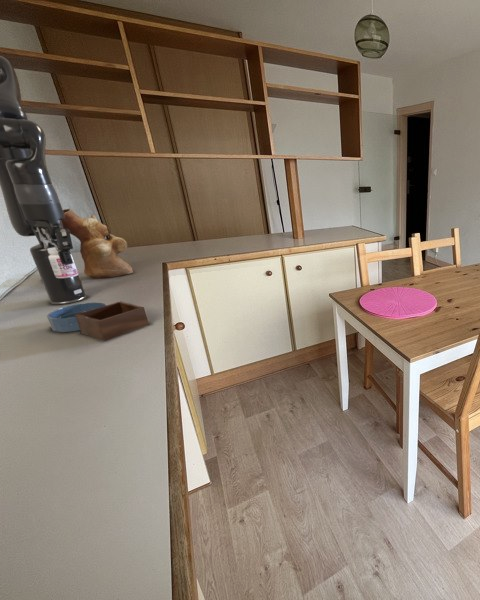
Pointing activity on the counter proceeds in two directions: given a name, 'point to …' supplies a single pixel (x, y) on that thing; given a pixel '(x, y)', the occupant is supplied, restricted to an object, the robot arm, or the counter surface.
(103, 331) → the box
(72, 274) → the pill bottle
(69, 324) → the bowl
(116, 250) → the tan lumpy upright piece
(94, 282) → the counter surface
